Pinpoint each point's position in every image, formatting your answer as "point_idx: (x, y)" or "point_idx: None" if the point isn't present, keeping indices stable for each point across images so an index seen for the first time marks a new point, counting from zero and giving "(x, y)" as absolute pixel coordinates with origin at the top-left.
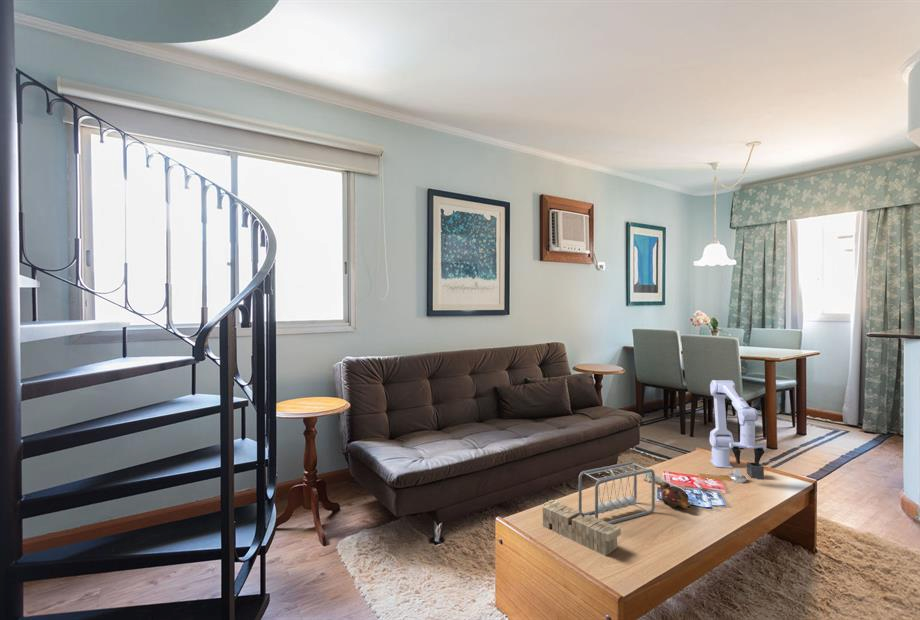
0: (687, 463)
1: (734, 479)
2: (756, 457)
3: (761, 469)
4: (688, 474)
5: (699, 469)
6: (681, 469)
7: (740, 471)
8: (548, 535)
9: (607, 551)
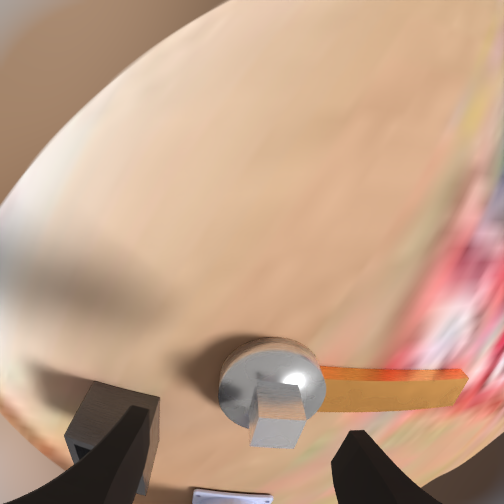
0: None
1: (315, 362)
2: (121, 496)
3: (84, 426)
4: (463, 406)
5: None
6: (443, 446)
7: (267, 412)
8: None
9: None
